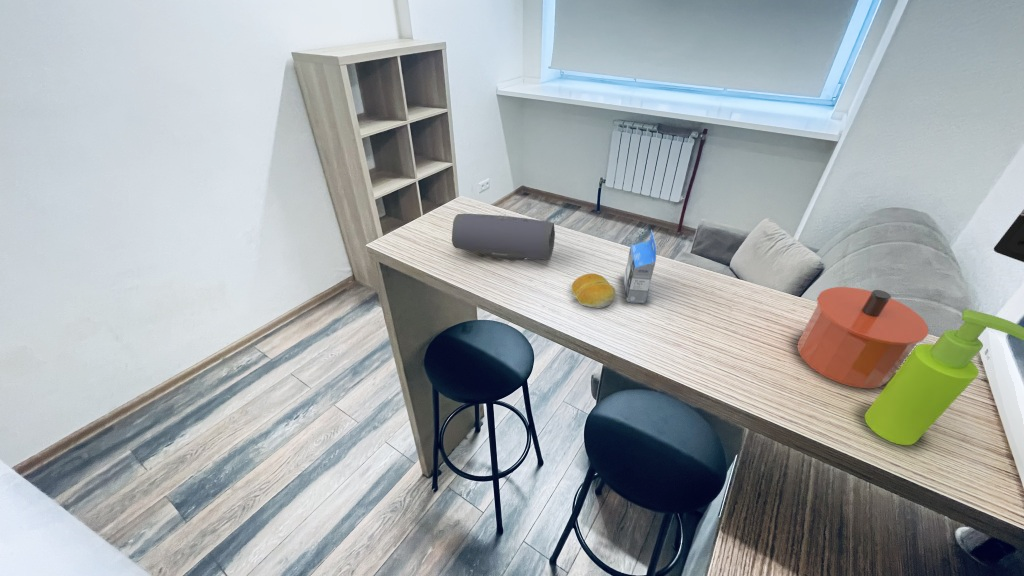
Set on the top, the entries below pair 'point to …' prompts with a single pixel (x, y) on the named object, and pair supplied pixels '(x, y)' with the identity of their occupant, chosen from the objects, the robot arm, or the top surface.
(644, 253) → the label tape box
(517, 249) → the bluetooth speaker
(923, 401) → the soap dispenser
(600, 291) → the bread roll
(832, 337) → the pot
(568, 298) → the top surface
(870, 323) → the pot lid
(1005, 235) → the robot arm
